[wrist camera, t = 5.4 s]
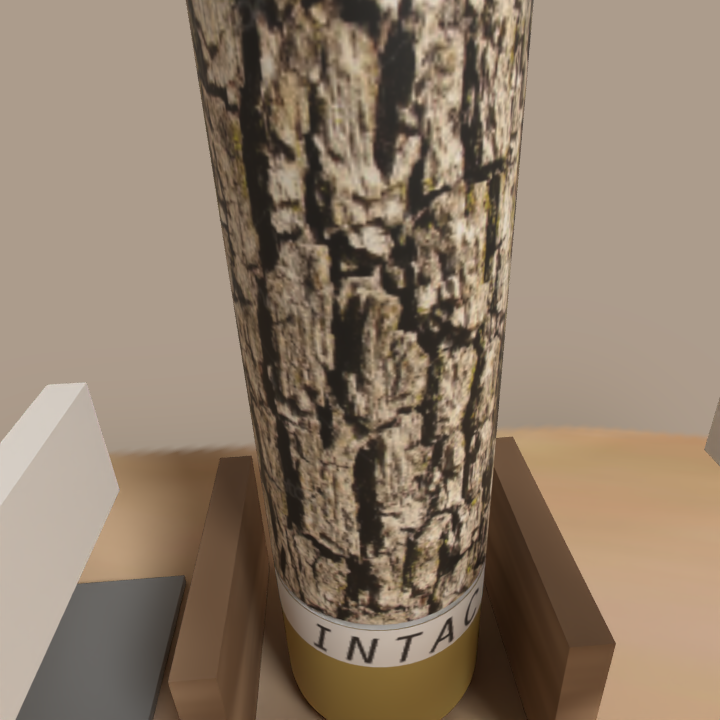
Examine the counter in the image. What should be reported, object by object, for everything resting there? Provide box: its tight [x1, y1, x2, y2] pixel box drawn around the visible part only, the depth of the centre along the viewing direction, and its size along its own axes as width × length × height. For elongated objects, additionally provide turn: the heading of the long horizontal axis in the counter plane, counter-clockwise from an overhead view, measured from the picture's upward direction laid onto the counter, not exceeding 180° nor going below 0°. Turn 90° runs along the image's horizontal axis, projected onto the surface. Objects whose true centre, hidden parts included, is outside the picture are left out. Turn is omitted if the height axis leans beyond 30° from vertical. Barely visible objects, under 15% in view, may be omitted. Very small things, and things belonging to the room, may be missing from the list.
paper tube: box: [186, 0, 533, 720], centre depth 16 cm, size 7×7×25 cm
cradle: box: [168, 437, 616, 720], centre depth 20 cm, size 11×9×6 cm
